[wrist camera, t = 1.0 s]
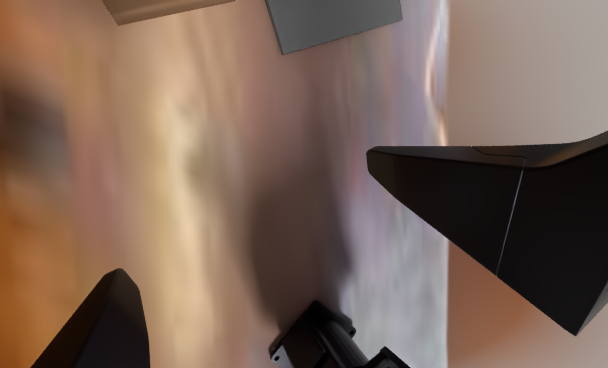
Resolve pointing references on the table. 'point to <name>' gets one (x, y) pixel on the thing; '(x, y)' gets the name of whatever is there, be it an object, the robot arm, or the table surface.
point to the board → (153, 8)
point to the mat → (327, 20)
